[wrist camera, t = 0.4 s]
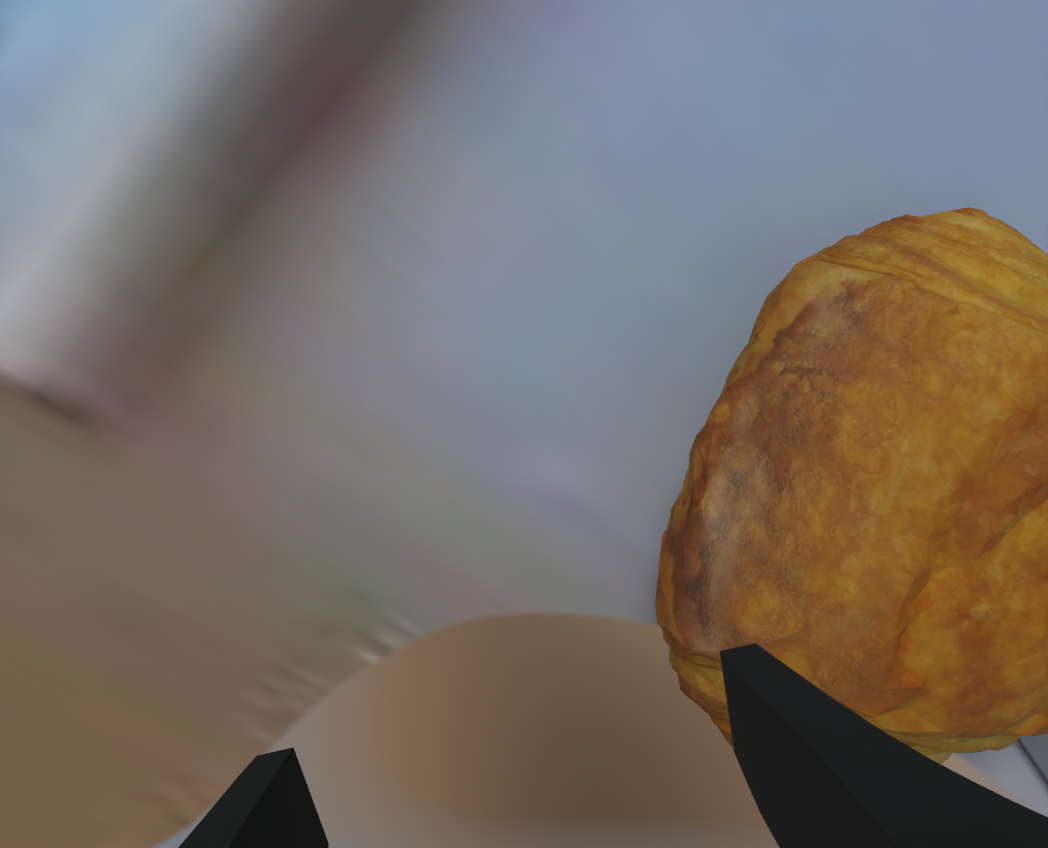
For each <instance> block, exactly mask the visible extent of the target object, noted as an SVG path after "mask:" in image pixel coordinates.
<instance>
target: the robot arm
mask: <svg viewBox="0 0 1048 848" xmlns="http://www.w3.org/2000/svg"><path fill="white" fill-rule="evenodd" d="M720 658H721V665H722V672H723V679H724V686H725V693H726V699H727V706H728V713H729V720H730V727H731V734H732V741H733V748H734V752H735V755H736V757H737V759H738V762H739V764H740V767H741V769H742V772H743V773H744V776H745V779H746V781H747V783H748V786H749V788H750V790H751V793H752V795H753V797H754V799H755V802H756V804H757V806H758V809H759V811H760V813H761V815H762V817H763V818H764V820H765V822H766V824H767V826H768V827H769V829H770V831H771V833H772V835H773V837H774V838H775V840H776V842H777V844H778V845H779V847H780V848H1048V817H1046V816H1044V815H1041V814H1039V813H1037V812H1035V811H1033V810H1030V809H1028V808H1026V807H1024V806H1022V805H1020V804H1018V803H1015V802H1013V801H1011V800H1009V799H1007V798H1004V797H1003V796H1001V795H999V794H997V793H995V792H993V791H991V790H989V789H987V788H985V787H983V786H981V785H979V784H977V783H975V782H973V781H971V780H969V779H967V778H965V777H963V776H961V775H959V774H957V773H956V772H953V771H952V770H950V769H948V768H946V767H944V766H943V765H941V764H939V763H937V762H935V761H933V760H932V759H930V758H928V757H926V756H924V755H923V754H921V753H919V752H918V751H916V750H914V749H913V748H911V747H909V746H908V745H906V744H904V743H902V742H901V741H899V740H897V739H896V738H894V737H892V736H891V735H889V734H887V733H886V732H884V731H883V730H881V729H879V728H878V727H876V726H875V725H873V724H871V723H870V722H868V721H867V720H865V719H864V718H862V717H861V716H859V715H858V714H856V713H855V712H853V711H852V710H850V709H849V708H847V707H846V706H844V705H843V704H841V703H840V702H838V701H837V700H835V699H834V698H832V697H831V696H829V695H828V694H826V693H825V692H823V691H822V690H821V689H819V688H818V687H816V686H815V685H814V684H812V683H811V682H809V681H808V680H806V679H805V678H804V677H802V676H801V675H799V674H798V673H797V672H795V671H794V670H792V669H791V668H790V667H788V666H787V665H786V664H784V663H783V662H781V661H780V660H779V659H777V658H776V657H775V656H773V655H772V654H770V653H769V652H768V651H766V650H765V649H763V648H762V647H760V646H759V645H757V644H756V643H753V644H749V645H744V646H740V647H736V648H731V649H727V650H722V651H720ZM179 848H328V841H327V838H326V835H325V833H324V830H323V827H322V824H321V822H320V819H319V816H318V813H317V811H316V808H315V805H314V803H313V800H312V797H311V794H310V792H309V789H308V786H307V783H306V781H305V778H304V776H303V772H302V770H301V767H300V764H299V762H298V759H297V756H296V754H295V751H294V748H289V749H285V750H280V751H276V752H271V753H267V754H263V755H258V756H256V757H255V759H254V760H253V761H252V762H251V763H250V764H249V765H248V766H247V767H246V768H245V770H244V771H243V772H242V773H241V774H240V775H239V777H238V778H237V779H236V780H235V781H234V782H233V784H232V785H231V786H230V787H229V788H228V789H227V791H226V792H225V793H224V794H223V795H222V797H221V798H220V799H219V800H218V801H217V803H216V804H215V805H214V806H213V807H212V809H211V810H210V811H209V812H208V813H207V815H206V816H205V817H204V818H203V819H202V821H201V822H200V823H199V824H198V825H197V826H196V828H195V829H194V830H193V831H192V832H191V834H190V835H189V836H188V837H187V838H186V840H185V841H184V842H183V843H182V844H181V845H180V846H179Z"/></svg>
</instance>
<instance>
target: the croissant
mask: <svg viewBox="0 0 1048 848" xmlns="http://www.w3.org/2000/svg"><path fill="white" fill-rule="evenodd" d="M655 605H656V616H657V623H658V624H659V625H660V626H661V627H662V630H663V638H664V640H665V641H666V642H667V644H668V645H669V646H670V652H669V660H670V663H671V665H672V668H673V669H674V670H675V671H676V672H677V673H678V678H679V684H680V689H681V690H682V692H683V693H684V694H685V695H686V696H688V697H689V698H690V699H691V700H693V701H694V702H695V703H697V704H698V705H699V706H700V707H701V708H702V709H703V710H704V711H705V712H707V713H708V714H709V716H710V717H711V719H712V721H713V722H714V723H715V724H716V725H717V726H718V728H719V729H720V731H721V732H722V734H723V736H724V737H725V739H726V741H727V742H728V743H729V744H730V745H731V746H732V747H733V741H732V734H731V727H730V720H729V713H728V706H727V699H726V693H725V686H724V679H723V672H722V665H721V658H720V651H722V650H727V649H731V648H736V647H740V646H744V645H749V644H753V643H756V644H757V645H759V646H760V647H762V648H763V649H765V650H766V651H768V652H769V653H770V654H772V655H773V656H775V657H776V658H777V659H779V660H780V661H781V662H783V663H784V664H786V665H787V666H788V667H790V668H791V669H792V670H794V671H795V672H797V673H798V674H799V675H801V676H802V677H804V678H805V679H806V680H808V681H809V682H811V683H812V684H814V685H815V686H816V687H818V688H819V689H821V690H822V691H823V692H825V693H826V694H828V695H829V696H831V697H832V698H834V699H835V700H837V701H838V702H840V703H841V704H843V705H844V706H846V707H847V708H849V709H850V710H852V711H853V712H855V713H856V714H858V715H859V716H861V717H862V718H864V719H865V720H867V721H868V722H870V723H871V724H873V725H875V726H876V727H878V728H879V729H881V730H883V731H884V732H886V733H887V734H889V735H891V736H892V737H894V738H896V739H897V740H899V741H901V742H902V743H904V744H906V745H908V746H909V747H911V748H913V749H914V750H916V751H918V752H919V753H921V754H923V755H924V756H926V757H928V758H930V759H932V760H933V761H935V762H937V763H939V764H942V763H943V762H944V761H945V760H947V759H948V758H949V757H950V755H951V754H952V753H974V752H981V751H986V750H988V749H989V750H997V751H999V750H1001V749H1003V748H1005V747H1007V746H1009V745H1011V744H1012V743H1014V742H1016V741H1017V740H1018V739H1019V737H1021V736H1029V737H1031V736H1037V735H1043V734H1048V255H1047V254H1045V253H1044V252H1043V251H1042V250H1041V249H1040V248H1038V247H1037V246H1036V245H1035V244H1033V243H1032V242H1031V241H1030V240H1029V239H1027V238H1026V237H1025V236H1024V235H1022V234H1021V233H1019V232H1018V231H1017V230H1015V229H1014V228H1012V227H1010V226H1009V225H1007V224H1006V223H1004V222H1003V221H1001V220H999V219H996V218H993V217H990V216H989V215H988V214H987V213H985V212H984V211H983V210H979V209H973V208H963V209H958V210H952V211H946V212H941V213H937V214H933V215H928V216H924V217H917V216H911V215H904V216H902V217H897V218H892V219H891V220H890V221H884V222H881V223H879V224H878V225H876V226H873V227H871V228H868V229H866V230H864V231H863V232H862V233H861V234H859V235H853V236H845V237H844V238H843V239H841V240H840V241H838V242H837V243H836V244H834V245H833V246H832V247H827V248H824V249H823V250H821V251H820V252H818V253H817V254H815V255H813V256H811V257H809V258H806V259H804V260H802V261H801V262H799V263H798V264H796V265H794V266H793V268H792V270H791V272H790V273H789V274H788V275H787V276H786V277H785V278H784V279H783V280H782V281H781V282H780V283H779V284H778V285H777V286H776V287H775V288H774V290H773V291H772V292H771V293H770V294H769V295H768V296H767V298H766V300H765V302H764V304H763V306H762V308H761V310H760V313H759V315H758V317H757V319H756V321H755V324H754V328H753V331H752V334H751V337H750V340H749V343H748V344H747V346H746V347H745V348H744V350H743V351H742V353H741V354H740V355H739V357H738V359H737V360H736V362H735V364H734V366H733V367H732V369H731V371H730V373H729V374H728V377H727V380H726V383H725V386H724V389H723V392H722V394H721V396H720V398H719V399H718V401H717V402H716V404H715V406H714V407H713V409H712V411H711V412H710V414H709V417H708V419H707V422H706V424H705V426H704V427H703V428H702V430H701V431H700V432H699V433H698V434H697V436H696V438H695V440H694V443H693V446H692V448H691V451H690V458H689V469H688V471H687V473H686V476H685V480H684V484H683V487H682V491H681V493H680V495H679V497H678V499H677V501H676V502H675V504H674V506H673V507H672V509H671V518H670V520H669V524H668V527H667V530H666V531H665V532H664V534H663V536H662V544H661V553H660V564H659V575H658V583H657V590H656V598H655Z"/></svg>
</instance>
